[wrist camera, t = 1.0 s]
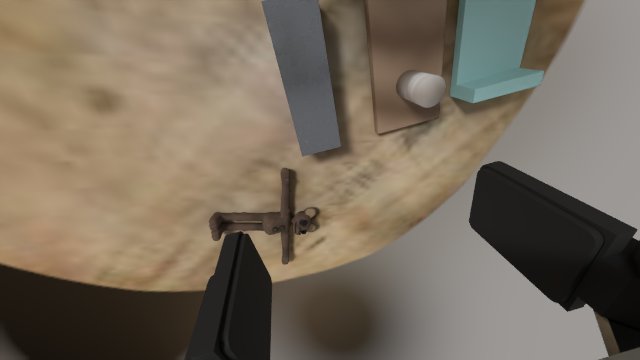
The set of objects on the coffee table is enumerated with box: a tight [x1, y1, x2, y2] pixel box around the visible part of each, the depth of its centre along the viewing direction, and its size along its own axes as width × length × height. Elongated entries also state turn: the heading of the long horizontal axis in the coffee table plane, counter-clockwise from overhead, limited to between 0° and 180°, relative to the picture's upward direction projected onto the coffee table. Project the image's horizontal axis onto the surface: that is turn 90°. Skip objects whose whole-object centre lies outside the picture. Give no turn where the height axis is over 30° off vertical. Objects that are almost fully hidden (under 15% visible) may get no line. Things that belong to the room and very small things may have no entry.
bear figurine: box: [209, 168, 316, 264], centre depth 33 cm, size 18×4×14 cm
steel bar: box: [261, 0, 341, 156], centre depth 24 cm, size 14×4×4 cm, turn 11°
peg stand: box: [364, 0, 447, 134], centre depth 22 cm, size 20×8×6 cm, turn 12°
